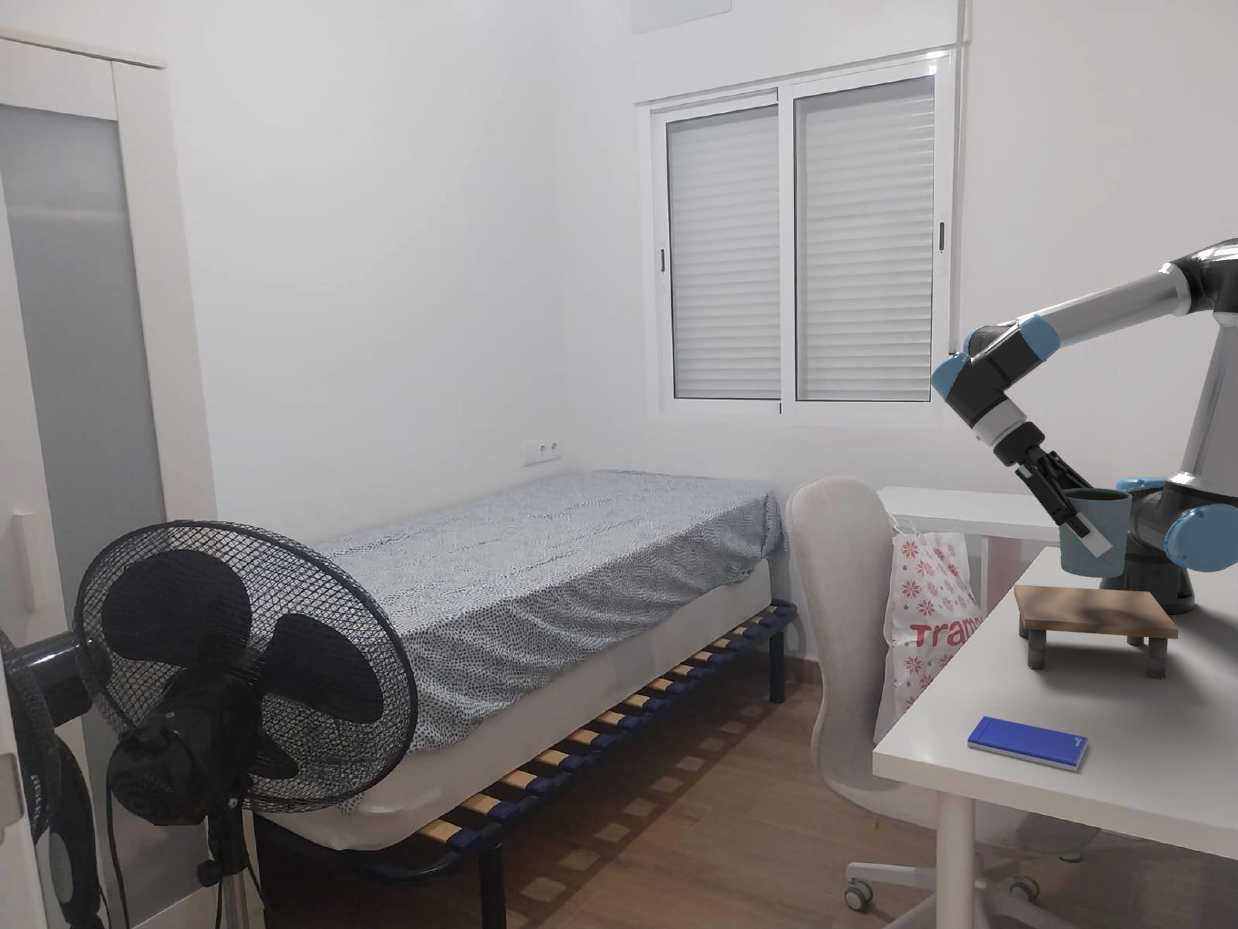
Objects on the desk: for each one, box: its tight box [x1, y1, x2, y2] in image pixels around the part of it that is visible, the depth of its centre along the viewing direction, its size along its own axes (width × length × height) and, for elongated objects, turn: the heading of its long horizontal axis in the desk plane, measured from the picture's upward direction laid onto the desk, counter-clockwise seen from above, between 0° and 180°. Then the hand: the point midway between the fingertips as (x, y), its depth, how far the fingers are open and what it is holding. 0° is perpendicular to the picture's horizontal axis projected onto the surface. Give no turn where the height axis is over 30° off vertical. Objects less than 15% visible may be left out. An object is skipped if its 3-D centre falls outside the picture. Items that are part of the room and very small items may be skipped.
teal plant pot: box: [1058, 487, 1132, 579], centre depth 139 cm, size 10×10×12 cm
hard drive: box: [966, 715, 1089, 772], centre depth 114 cm, size 2×8×12 cm
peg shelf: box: [1013, 584, 1179, 680], centre depth 141 cm, size 20×18×8 cm
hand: (1114, 544), depth 137 cm, fingers closed on teal plant pot, 10 cm apart
